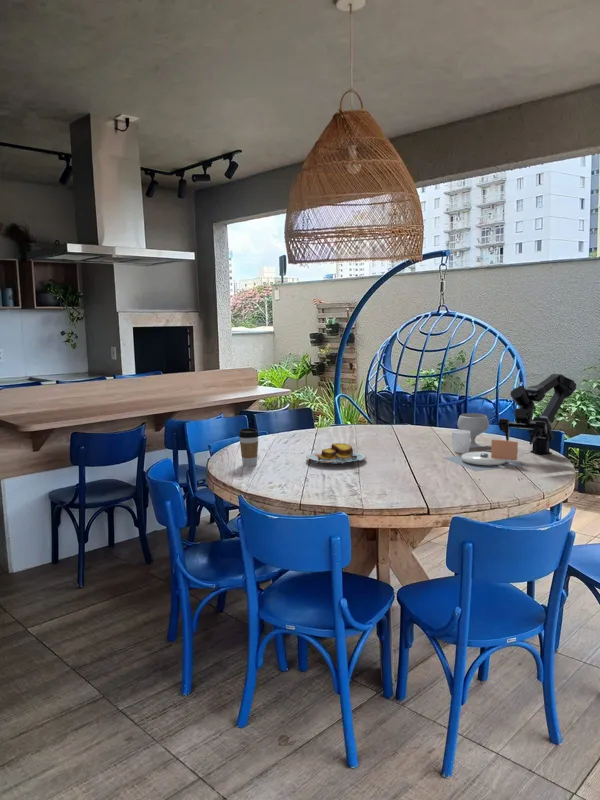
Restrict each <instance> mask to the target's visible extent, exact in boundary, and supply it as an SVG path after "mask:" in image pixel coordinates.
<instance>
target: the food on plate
mask: <svg viewBox="0 0 600 800" xmlns="http://www.w3.org/2000/svg"><path fill="white" fill-rule="evenodd" d="M308 459H309V460H312V461H315V464H317V463H320V464H322V463H323V464H330V463H331V464H334V465H335V464H336V465H337V464H345V463H346V462H350V463H354V462H361V461H363V460H367V455H365V454H362V453H356V452H355V453H354V448H353V447H352V445H350V444H348V443H340V442H339V443H332V444H331V447H329V448H323V449H321V452H317V453H311V454H308V455H307V456H306V461H308Z"/></svg>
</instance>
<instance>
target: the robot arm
mask: <svg viewBox="0 0 600 800" xmlns="http://www.w3.org/2000/svg"><path fill="white" fill-rule="evenodd" d="M552 389H553V391H554V393H553V395H552V396H551V398H550V400H549V402H548V403H547V405H546V406H545V408H544V410H543V412H542V413H541V415H540V416H534V411H535V410H536V409H537V408H536V406H535V403H534V402H536V403H537V402H538V403H539V402H541V401H542V400H544V399H545V398H546V394H547V393H548V392H549V391H551V390H552ZM576 389H577V383H576V382H575V381H574V380H573V379H571V378H569V377H566V376H565V375H563V374H560V373H551V374H550V375H549V376H548V377H547V378H545V379H544V380H543V381H541V382H539V383H538V384H536V385H531V386H528V387H526V388H525V386H524V385H518V387H515V388H513V390H511V391H510V397H511V398H512V400H513V401H514V403H515V404H516V405H517V406H519V408H515V409H514V421H515V422H513V421H510V419H509V418H502V417H501V418H499V419H498V422H497V424H498V427H499V428H498V429H499V430H500V431H501V432H503V433H504V434H505V441H510V435H511V428H513V429H514V428H516V429H517V428H518V429H524V430H525V429H526V430H528V433H529V438H530V440H529V445H530V446H531V445H532V448H531V449H532V450H530V452H531V453H533V454H538V455H549V454H553V452H552V451H550V445H551V444H550V443H551V442H552V441H554V439H555V434H554V433H553V431H552V429H553V427H552V421H553V419H554V418H555V416H556V415H557V412H558V411H559V409H560V407H562V404H563V403H564V400H565V399H567V398H568V397H570V396H572V395H573V393H575V391H576ZM533 416H534V417H533Z"/></svg>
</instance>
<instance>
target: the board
mask: <svg viewBox="0 0 600 800" xmlns="http://www.w3.org/2000/svg"><path fill="white" fill-rule="evenodd" d="M443 459H446V460H448V461H449V462H452V463H455V464H458V465H460V466H463V467H464V468H466V469H469V470H472V471H475V472H480V471H489V470H498V469H499V470H500V469H506V468H507V469H508V468H517V467H523V466H524V467H525V466H527V467H528V464H526V463H522V462H519V461H518V460H508V459H507V462H506V463H504V464H500V465H476V464H471V463H467V462H464V461H462V455H455V456H447V457H445V456H444V457H443Z"/></svg>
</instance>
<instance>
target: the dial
mask: <svg viewBox="0 0 600 800" xmlns="http://www.w3.org/2000/svg"><path fill="white" fill-rule="evenodd" d="M518 444H519V442H518V441H515V440H509V441H506V439H505V440H504V439H494V438H493V439H491V447H490V450H491V451H486V452H481V451H469V452H467V453H461V456H462V461H464V462H467V463H471V464H476V465H500V464H504V463H506V462H507V459H508V460H514V461H518V452H519V451H518V450H519V445H518Z"/></svg>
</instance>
